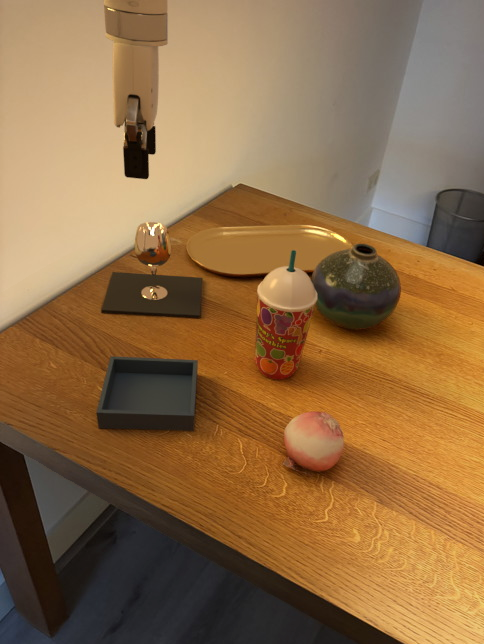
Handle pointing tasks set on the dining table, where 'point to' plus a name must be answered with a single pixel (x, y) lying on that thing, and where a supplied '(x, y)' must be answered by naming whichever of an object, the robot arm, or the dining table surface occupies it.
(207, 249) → the serving platter
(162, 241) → the wineglass
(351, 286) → the vase
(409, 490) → the dining table surface
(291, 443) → the onion
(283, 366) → the smoothie
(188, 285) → the mat
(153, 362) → the tray
